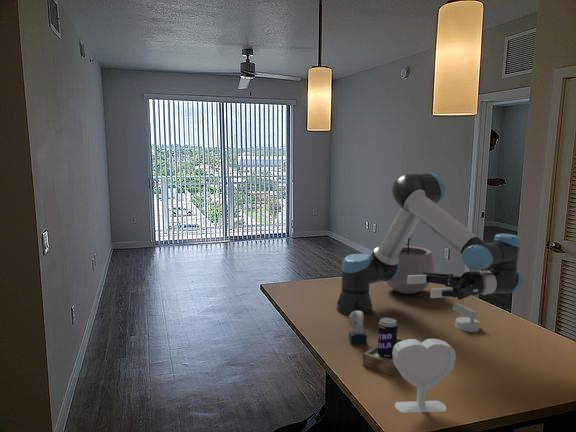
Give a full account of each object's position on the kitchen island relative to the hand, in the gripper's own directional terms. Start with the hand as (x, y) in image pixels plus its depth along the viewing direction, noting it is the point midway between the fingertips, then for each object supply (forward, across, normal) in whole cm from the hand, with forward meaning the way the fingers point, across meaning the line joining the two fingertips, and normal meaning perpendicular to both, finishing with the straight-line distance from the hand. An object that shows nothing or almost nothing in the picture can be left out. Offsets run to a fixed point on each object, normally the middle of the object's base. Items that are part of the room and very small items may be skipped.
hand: (418, 286), depth 137 cm
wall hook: (-35, +21, -26) cm, 48 cm away
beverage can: (+10, 0, -23) cm, 25 cm away
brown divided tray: (+6, +2, -25) cm, 26 cm away
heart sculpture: (+12, -24, -25) cm, 36 cm away
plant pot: (-35, +67, -26) cm, 80 cm away
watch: (+12, +18, -26) cm, 33 cm away
